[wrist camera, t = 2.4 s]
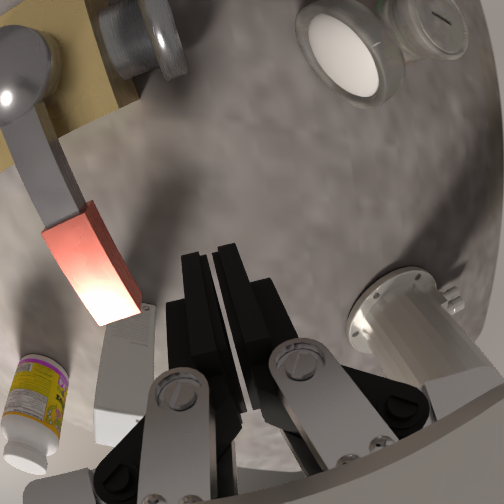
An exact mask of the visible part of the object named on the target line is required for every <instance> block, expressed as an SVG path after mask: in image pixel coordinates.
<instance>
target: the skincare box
mask: <svg viewBox="0 0 504 504" xmlns="http://www.w3.org/2000/svg"><path fill="white" fill-rule="evenodd" d="M155 316H156V306H154V305H150V304H146V303H142V304H141V313H138V314H135V315H132V316H129V317H126V318H123V319H119V320H116V321H113V322H110V323H107V326H106V331H105V337H104V342H103V347H102V353H101V359H100V365H99V372H98V378H97V385H96V393H95V401H94V412H93V421H94V435H95V443H96V444H102V445H107V446H113V447H115V446H116V445H117V444H118V443H119V442H120V441H121V440H122V439H123V438H124V437H125V436H126V435H127V434H128V433H129V432H130V431H131V429H132V428H133V427H134V426H135V425H136V424H137V423H138V422H139V421H140V420H141V419H142V418H143V417H144V416H145V414H146V408H147V401H148V393H149V390H150V387H151V385H152V383H153V382H154V342H155Z"/></svg>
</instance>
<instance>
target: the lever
mask: <svg viewBox="0 0 504 504" xmlns="http://www.w3.org/2000/svg"><path fill="white" fill-rule="evenodd" d="M61 72H62V56H61V52H60V49H59V46H58V45H57V43H56V41H55V40H54V39H53V38H52V37H51V36H50V35H49V34H47V33H46V32H43V31H40V30H37V29H33V28H29V27H25V26H21V25H7V26H3V27H0V128H1V131H2V133H3V136H4V139H5V141H6V144H7V146H8V149H9V151H10V153H11V156H12V158H13V161H14V163H15V165H16V168H17V170H18V172H19V174H20V177H21V179H22V181H23V183H24V185H25V187H26V189H27V192H28V194H29V196H30V198H31V200H32V202H33V204H34V206H35V208H36V210H37V212H38V214H39V216H40V218H41V219H42V221H43V223H44V225H45V228H44V230H43V231H42V233H41V235H42V237H43V238H44V240H45V242H46V244H47V245H48V247H49V249H50V251H51V252H52V254H53V256H54V257H55V259H56V261H57V262H58V264H59V266H60V267H61V269H62V271H63V272H64V274H65V275H66V277H67V279H68V280H69V282H70V283H71V285H72V286H73V288H74V289H75V291H76V292H77V294H78V295H79V297H80V298H81V300H82V301H83V303H84V304H85V306H86V307H87V309H88V310H89V311H90V313H91V314H92V316H93V317H94V319H95V320H96V321H97V323H98V324H99V325H100V326H101V325H104V324H107V323H110V322H113V321H116V320H119V319H123V318H126V317H129V316H132V315H135V314H138V313H141V304H142V292H141V291H140V289H139V287H138V285H137V284H136V282H135V280H134V278H133V277H132V275H131V273H130V271H129V270H128V268H127V266H126V264H125V262H124V260H123V259H122V257H121V255H120V253H119V251H118V249H117V247H116V245H115V244H114V242H113V240H112V238H111V236H110V234H109V232H108V230H107V228H106V226H105V224H104V222H103V220H102V218H101V216H100V214H99V212H98V210H97V208H96V206H95V204H94V201H93V200H91V201H89V202H87V203H86V201H85V199H84V197H83V195H82V193H81V191H80V189H79V186H78V184H77V182H76V180H75V178H74V175H73V173H72V171H71V169H70V166H69V164H68V162H67V159H66V157H65V155H64V152H63V150H62V147H61V145H60V143H59V140H58V138H57V135H56V133H55V130H54V127H53V125H52V122H51V120H50V117H49V114H48V112H47V109H46V106H45V105H46V104H47V103H48V102H49V101H50V99H51V98H52V96H53V95H54V93H55V91H56V89H57V87H58V84H59V81H60V77H61Z"/></svg>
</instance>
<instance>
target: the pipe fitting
mask: <svg viewBox="0 0 504 504" xmlns="http://www.w3.org/2000/svg"><path fill="white" fill-rule="evenodd" d="M295 32H296V37H297V40H298V43H299V46H300V48H301V50H302V52H303V54H304V56H305V58H306V60H307V61H308V63H309V64H310V66H311V67H312V69H313V70H314V71H315V72H316V74H317V75H318V76H319V77H320V78H321V80H322V81H323V82H324V83H325V84H326V85H327V86H328V87H329V88H330V89H331V90H332V91H333V92H334V93H335V94H336V95H338V96H339V97H340V98H341V99H343V100H344V101H346V102H347V103H349V104H351V105H353V106H355V107H358V108H362V109H373V108H377V107H379V106H381V105H382V104H383V103H385V102H386V101H387V100H389V99H390V98H391V97H392V96H394V95H395V94H396V93H397V92H398V91H399V90H400V88H401V87H402V84H403V81H404V76H405V68H406V67H407V66H409V65H410V64H412V63H414V62H415V61H417V60H422V59H428V58H431V59H433V60H437V61H445V60H455V59H458V58H460V57H461V56H462V55H463V54H464V53H465V51H466V49H467V45H468V28H467V24H466V20H465V17H464V15H463V13H462V11H461V9H460V7H459V5H458V4H457V2H456V1H455V0H318V1H315V2H313V3H311V4H309V5H307V6H305V7H303V8H302V9H301V10H300V11H299V12H298V14H297V16H296V20H295Z"/></svg>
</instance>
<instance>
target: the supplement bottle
mask: <svg viewBox="0 0 504 504" xmlns="http://www.w3.org/2000/svg"><path fill="white" fill-rule="evenodd" d="M68 385H69V379H68V376H67V373H66V372H65V370H64V369H63V368H62V367H61V366H60V365H59V364H58V363H56V362H55V361H53V360H52V359H50V358H48V357H45V356H41V355H36V354H31V355H26V356H24V357H23V358H22V359H21V360H20V362H19V364H18V367H17V370H16V373H15V376H14V379H13V382H12V385H11V388H10V391H9V395H8V398H7V402H6V405H5V409H4V413H3V416H2V420H1V431H2V433H3V435H4V437H5V438H6V439H7V440H8V443H7V444H6V446H5V447H4V454H3V457H4V459H5V460H6V461H7V462H8V463H9V464H10V465H12V466H14V467H15V468H18V469H20V470H22V471H25V472H28V473H32V474H36V475H44V474H46V472H47V465H48V463H47V460H46V456H48V455H51V454H53V453H55V452H56V451H57V449H58V447H59V439H60V432H61V426H62V420H63V413H64V407H65V402H66V396H67V391H68Z"/></svg>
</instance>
